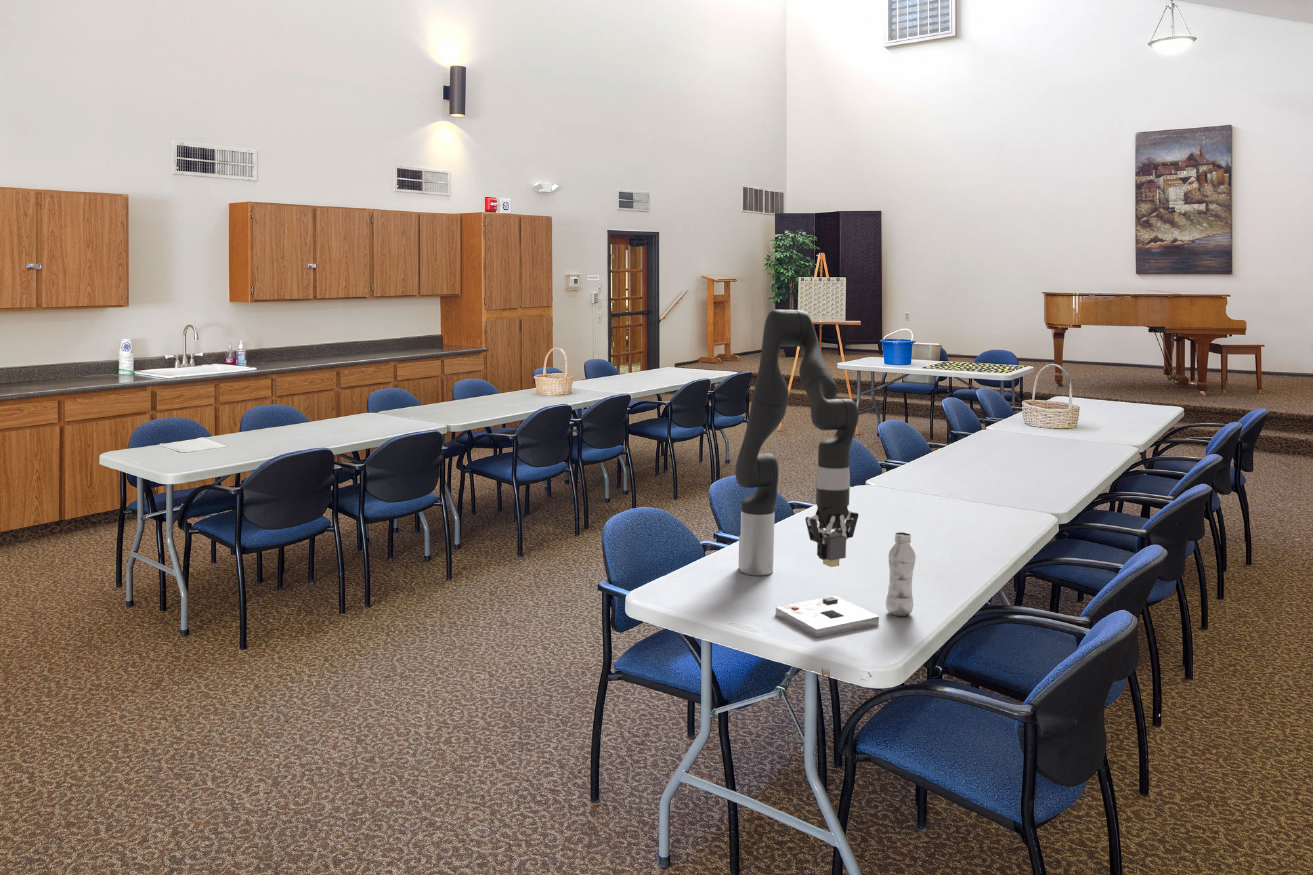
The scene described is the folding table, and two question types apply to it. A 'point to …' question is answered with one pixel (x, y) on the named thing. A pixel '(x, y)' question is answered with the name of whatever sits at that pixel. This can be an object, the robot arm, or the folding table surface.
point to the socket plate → (826, 616)
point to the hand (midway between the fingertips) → (831, 557)
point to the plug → (835, 549)
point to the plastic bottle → (901, 576)
